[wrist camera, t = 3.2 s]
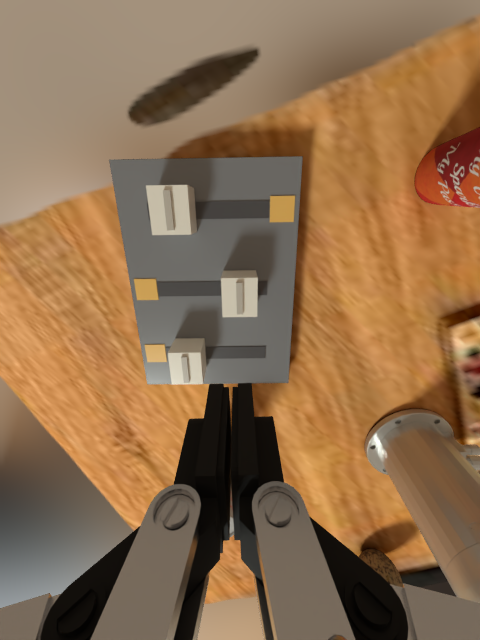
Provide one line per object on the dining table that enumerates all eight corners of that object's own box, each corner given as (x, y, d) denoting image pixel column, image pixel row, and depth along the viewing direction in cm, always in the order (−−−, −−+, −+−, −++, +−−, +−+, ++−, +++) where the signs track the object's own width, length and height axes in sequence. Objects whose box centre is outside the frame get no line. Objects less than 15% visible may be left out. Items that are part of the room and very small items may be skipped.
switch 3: (255, 270, 29) (257, 278, 25) (255, 305, 30) (257, 317, 27) (223, 270, 29) (220, 278, 25) (224, 305, 30) (222, 318, 27)
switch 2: (204, 338, 32) (200, 353, 28) (206, 367, 33) (202, 385, 30) (175, 338, 32) (166, 354, 28) (178, 367, 33) (171, 385, 30)
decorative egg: (383, 535, 50) (415, 609, 41) (391, 556, 52) (423, 631, 43) (345, 545, 51) (368, 619, 42) (355, 565, 54) (379, 639, 44)
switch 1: (194, 188, 26) (186, 184, 22) (197, 231, 27) (190, 234, 24) (157, 188, 26) (144, 185, 22) (162, 232, 27) (151, 235, 24)
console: (297, 161, 27) (302, 156, 25) (285, 372, 37) (288, 383, 34) (120, 164, 27) (108, 159, 25) (153, 373, 37) (147, 384, 34)
